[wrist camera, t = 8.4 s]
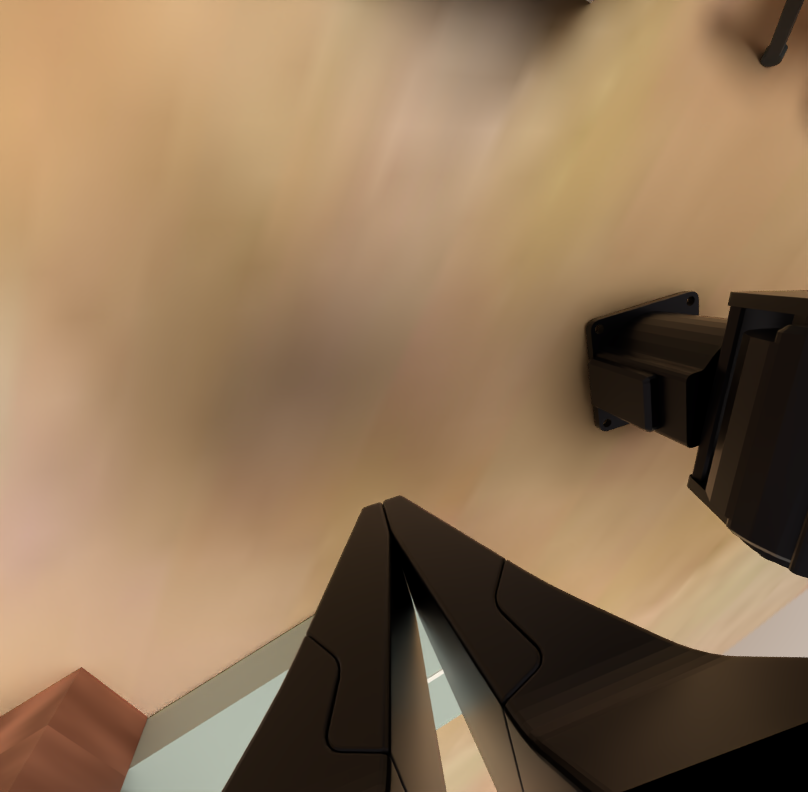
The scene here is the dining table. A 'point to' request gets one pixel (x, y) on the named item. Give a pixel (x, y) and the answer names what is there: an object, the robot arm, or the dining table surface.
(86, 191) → the dining table surface
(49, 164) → the dining table surface
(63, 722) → the gold-topped wooden l-block
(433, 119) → the dining table surface
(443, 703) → the board
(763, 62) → the robot dog
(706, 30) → the dining table surface
